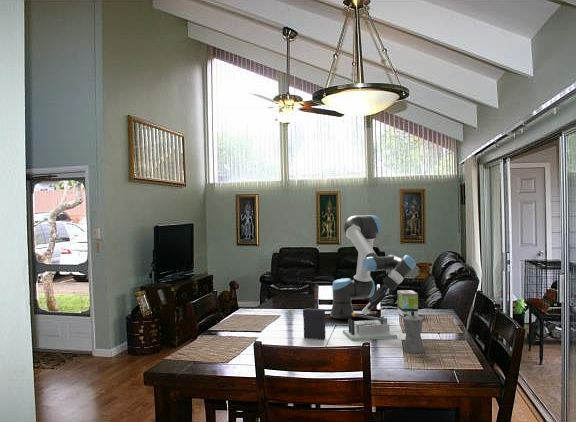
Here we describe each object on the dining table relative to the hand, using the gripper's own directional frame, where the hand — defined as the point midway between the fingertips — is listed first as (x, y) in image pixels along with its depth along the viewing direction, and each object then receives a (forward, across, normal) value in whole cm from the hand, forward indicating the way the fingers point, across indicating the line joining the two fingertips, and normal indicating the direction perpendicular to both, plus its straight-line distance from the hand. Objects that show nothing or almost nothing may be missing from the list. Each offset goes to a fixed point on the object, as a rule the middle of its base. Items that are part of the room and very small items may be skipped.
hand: (363, 313), depth 256 cm
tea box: (-22, +47, -39) cm, 65 cm away
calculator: (+27, +1, +10) cm, 29 cm away
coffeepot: (-1, -32, -18) cm, 36 cm away
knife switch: (+6, 0, -9) cm, 10 cm away
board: (+6, 0, -10) cm, 12 cm away
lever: (0, 0, -4) cm, 4 cm away
